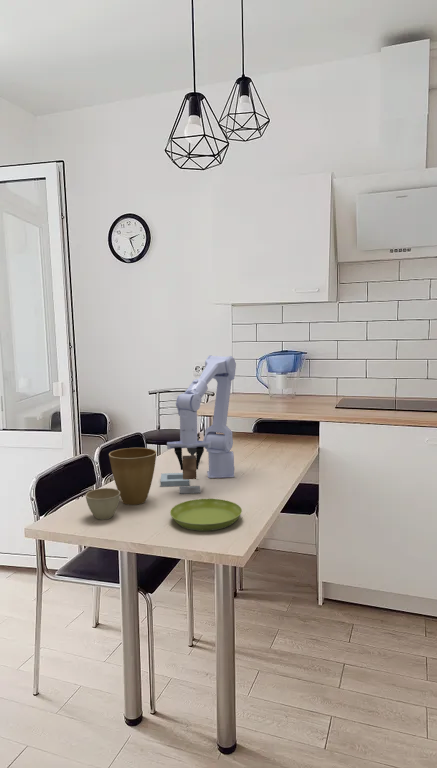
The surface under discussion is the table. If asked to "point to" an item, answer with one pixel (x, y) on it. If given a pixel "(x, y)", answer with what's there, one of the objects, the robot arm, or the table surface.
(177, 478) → the pocket holder
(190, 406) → the robot arm
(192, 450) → the sundae
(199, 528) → the saucer
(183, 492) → the plate
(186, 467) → the walnut block
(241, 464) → the table surface
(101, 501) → the flower pot
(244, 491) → the table surface
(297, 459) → the table surface
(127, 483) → the plant pot
